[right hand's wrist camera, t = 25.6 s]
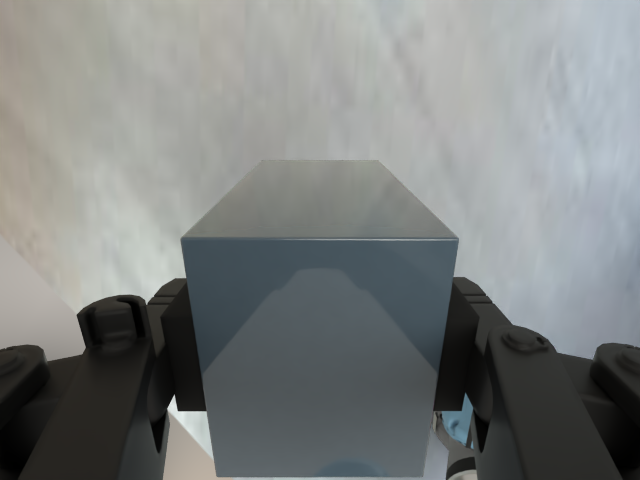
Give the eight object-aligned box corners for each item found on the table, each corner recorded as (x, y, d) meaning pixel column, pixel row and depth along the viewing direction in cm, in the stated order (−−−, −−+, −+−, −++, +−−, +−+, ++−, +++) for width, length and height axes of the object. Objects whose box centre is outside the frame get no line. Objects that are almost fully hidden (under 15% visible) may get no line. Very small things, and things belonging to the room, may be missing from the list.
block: (371, 288, 19) (423, 477, 9) (268, 289, 19) (215, 477, 9) (378, 160, 16) (460, 237, 7) (261, 160, 16) (179, 237, 7)
